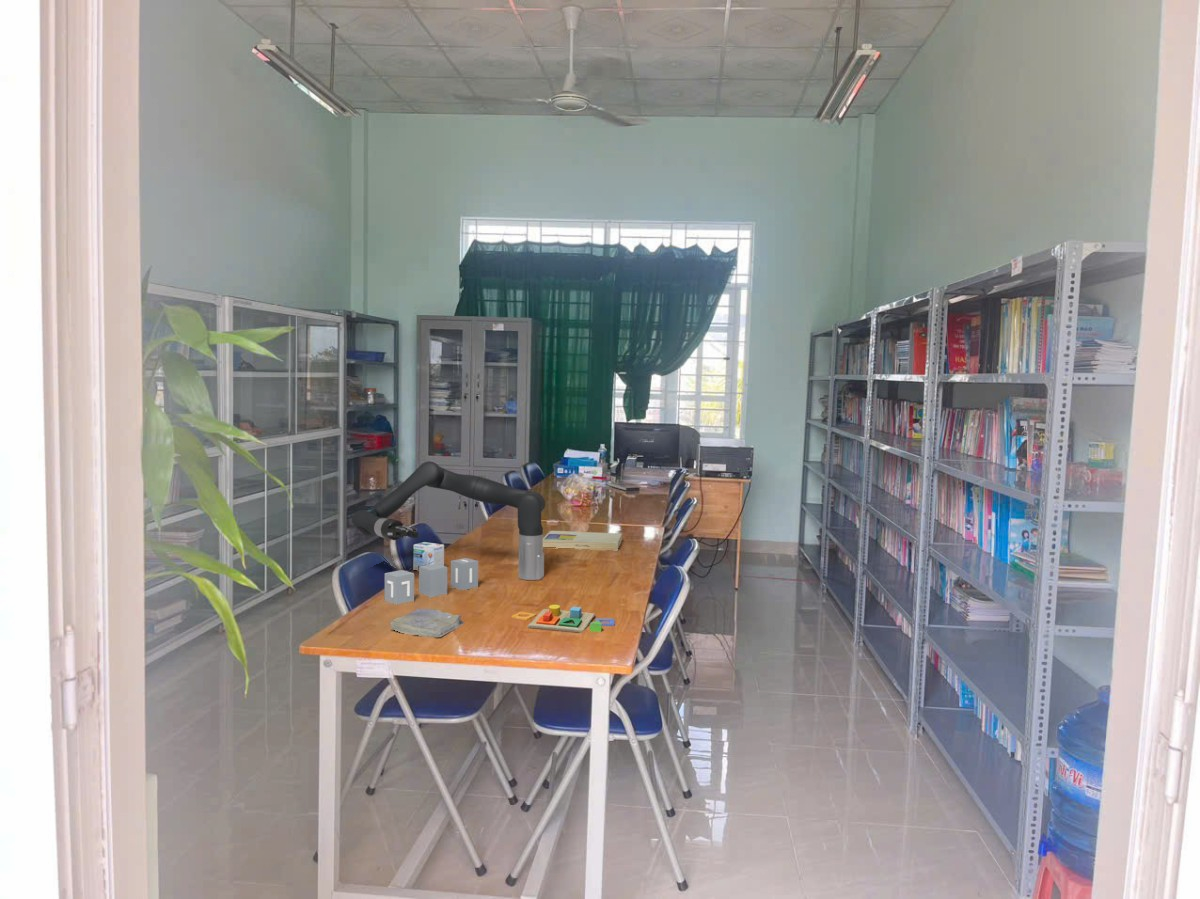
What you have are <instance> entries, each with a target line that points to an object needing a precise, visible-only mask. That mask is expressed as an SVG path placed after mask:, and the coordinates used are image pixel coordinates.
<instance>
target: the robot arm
mask: <svg viewBox="0 0 1200 899" xmlns="http://www.w3.org/2000/svg"><path fill="white" fill-rule="evenodd" d="M424 487H428V488H434V489H441V490H444V491H445V490H446V491H450V492H454V493H456V494H458V495H461V496H462V497H465V498H468V499H471V500H475V501H478V502H481V503H486V504H493V505H503V506H509V507H513V508H515V509H517V528H518V579H520V580H523V581H540V580H542V579H543V578H544V577H545V552H543V551H544V548H543V538H544V527H543V526H542V525H543V524H542V513H543V511H544V509H545V507H546V500H545V498H544V497H543V495H541V494H540V493H539V492H537V491H531V490H525V489H520V488H515V487H512V486H509V485H507V484H504V483H501V482H498V481H496V480H492V479H489V478H486V477H483V476H478V475H473V474H461V473H457V472H453V471H450V470H448V469H445V468H444V467H442V466H440V465H439V464H437V463H436V462H435V461H425V462H423V463H421V464H420V465H419V466H418V467H417V468H416V469H415V470H414V471H413V472H412V473H411V474H410V475H409V476H408V477H407V478H406V479H405V480H404V481H403V482H402V483H400V485H398V486H397V487H396V488H394V489H393V490H392V491H391V492H390V493H388V494H387V495H386V496H384V497H383V498H382V499H380V500H379V501H377V502H376V503H375V504H374V505H373V511H374V512H375V513H372V512H370V511H368V510H363V509H362V510H358V511H356V512H355V513H354V514H353V515H352V517H351V523H352V525H353V526H354V527H355V528H356V529H357V530H358V531H359V532H360V533H361V534H362V535H364V536H366V537H368V536H372V535H374V536H378V537H381V538H383V539H387V540H392V541H397V540H399V539H403V538H412V539H417V538H418V537H419V532H418V531H417V530H418V529H417V526H416V525H415V526H412V527H409V526H406V524H405V525H404V524H403V522H402V521H401V520H399V519H398V520H397V519H394V518H389V517H390V516H391V515H393V514H394V513H395V512H397V511H398V510H399V509H400V508H402V507H403V506H404V504H405V503H406V502H407V501H408V500H409V499H410V498H411V497H412V496H413V495H414V494H415V493H416V492H418V491H419V490H420V489H422V488H424ZM375 514H376V515H375Z"/></svg>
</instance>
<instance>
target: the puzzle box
mask: <svg viewBox="0 0 1200 899" xmlns="http://www.w3.org/2000/svg"><path fill="white" fill-rule="evenodd" d="M621 541H623V533H617V532H614V533H613V532H594V531H593V532H592V531H589V532H588V531H571V530H570V531H568V530H567V531H565V530H550V531H548V532H547V533H546V535H544V536H543V547H556V548H555V549H558V548H575V549H574V550H582V549H590V550H589V551H606V550H613V551H614V552H618V551H619V549H620V547H619V546H621V544H622V542H621ZM618 548H619V549H618ZM613 551H612V552H613Z"/></svg>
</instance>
